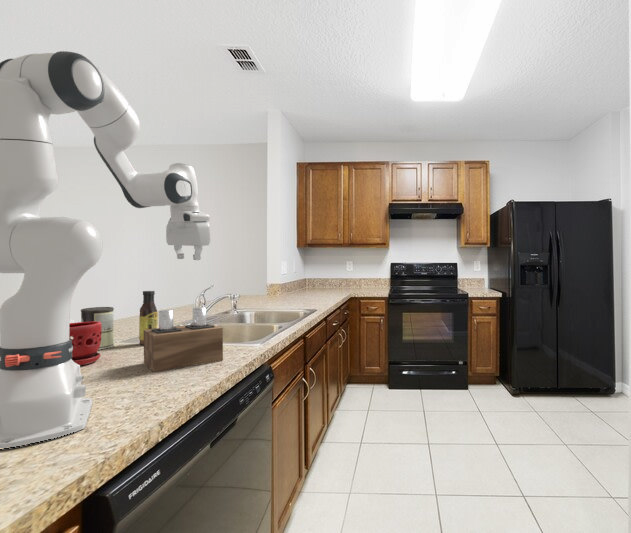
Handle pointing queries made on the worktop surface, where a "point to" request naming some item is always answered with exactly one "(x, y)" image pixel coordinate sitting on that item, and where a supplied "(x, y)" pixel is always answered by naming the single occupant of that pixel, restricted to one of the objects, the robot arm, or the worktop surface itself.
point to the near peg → (166, 320)
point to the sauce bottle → (147, 314)
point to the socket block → (182, 346)
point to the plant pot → (85, 341)
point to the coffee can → (106, 321)
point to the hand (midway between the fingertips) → (188, 259)
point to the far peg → (199, 317)
